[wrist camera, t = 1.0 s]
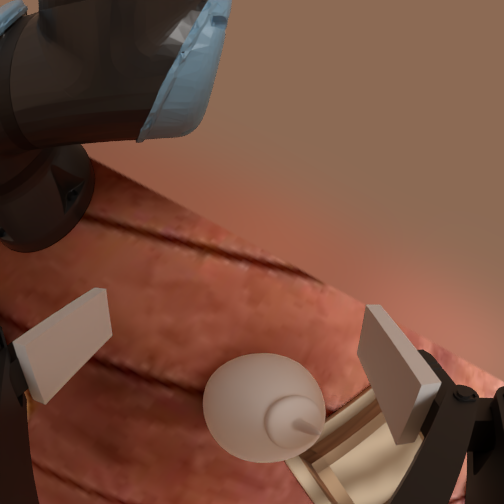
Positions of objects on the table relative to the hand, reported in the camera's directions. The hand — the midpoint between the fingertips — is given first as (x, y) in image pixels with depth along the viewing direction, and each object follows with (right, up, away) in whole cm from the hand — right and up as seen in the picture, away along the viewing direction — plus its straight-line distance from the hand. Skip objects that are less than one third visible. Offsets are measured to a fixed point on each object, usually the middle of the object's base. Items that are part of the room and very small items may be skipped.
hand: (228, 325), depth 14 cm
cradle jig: (+14, -18, +10) cm, 25 cm away
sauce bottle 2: (0, -10, +11) cm, 15 cm away
